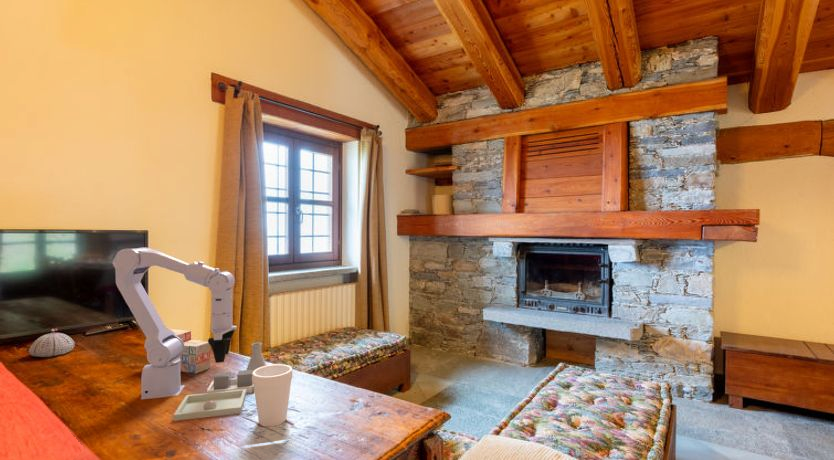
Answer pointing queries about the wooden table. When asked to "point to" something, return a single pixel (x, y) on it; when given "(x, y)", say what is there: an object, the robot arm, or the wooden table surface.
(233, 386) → the dish
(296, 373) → the wooden table surface
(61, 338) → the sea urchin shell
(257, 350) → the flask
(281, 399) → the foam cup
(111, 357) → the wooden table surface
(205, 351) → the cardboard box
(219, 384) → the grey cube
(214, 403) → the pale pink ball
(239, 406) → the bin
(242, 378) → the grey cube
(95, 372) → the wooden table surface
